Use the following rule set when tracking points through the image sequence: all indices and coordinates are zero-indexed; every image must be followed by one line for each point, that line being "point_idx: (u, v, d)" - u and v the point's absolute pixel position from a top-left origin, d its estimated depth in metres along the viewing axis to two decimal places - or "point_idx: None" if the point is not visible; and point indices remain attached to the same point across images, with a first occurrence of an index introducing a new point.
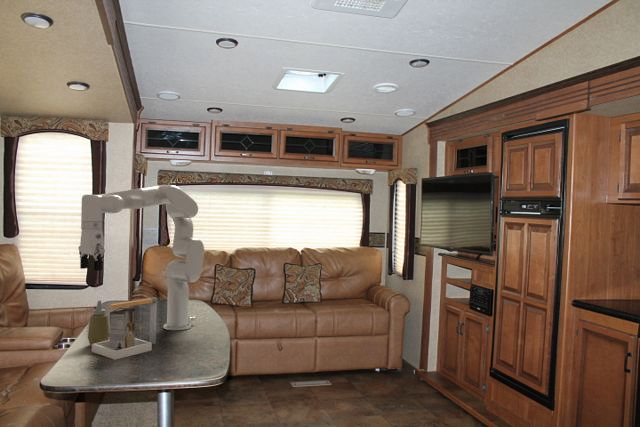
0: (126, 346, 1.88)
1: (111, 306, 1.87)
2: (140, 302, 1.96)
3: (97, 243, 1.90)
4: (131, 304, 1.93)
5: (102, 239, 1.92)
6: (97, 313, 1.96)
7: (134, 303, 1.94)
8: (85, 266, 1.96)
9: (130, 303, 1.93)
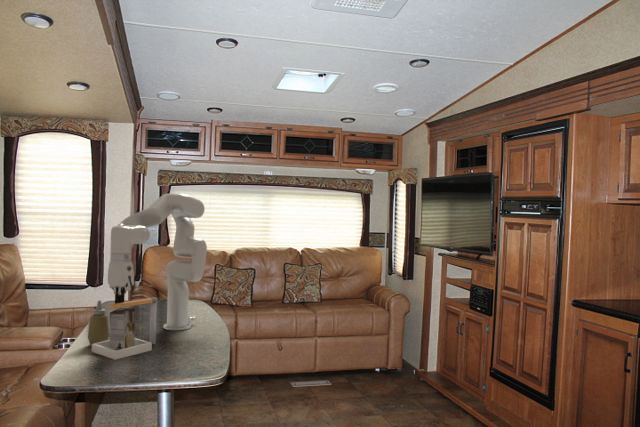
0: (126, 346, 1.88)
1: (111, 306, 1.87)
2: (140, 302, 1.96)
3: (127, 278, 1.90)
4: (131, 304, 1.93)
5: (132, 271, 1.92)
6: (97, 313, 1.96)
7: (134, 303, 1.94)
8: None
9: (130, 303, 1.93)
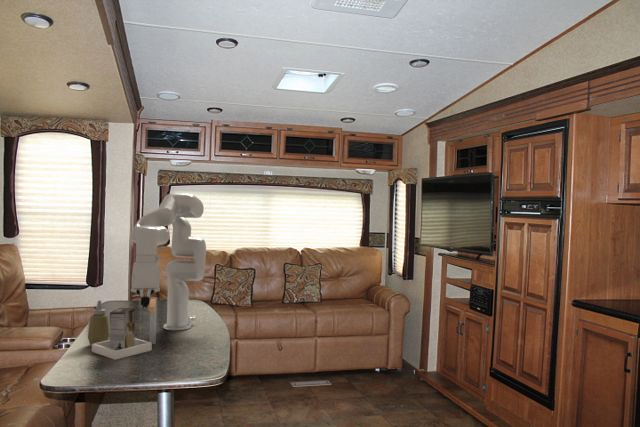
0: (126, 346, 1.88)
1: (151, 308, 1.84)
2: (155, 302, 1.96)
3: None
4: None
5: None
6: (97, 313, 1.96)
7: None
8: None
9: (154, 304, 1.92)
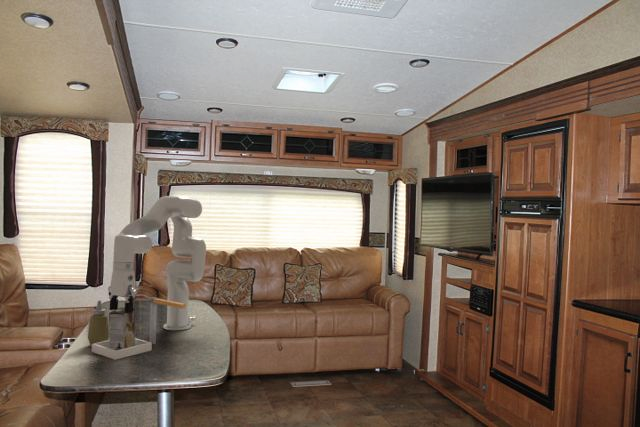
0: (126, 346, 1.88)
1: (184, 305, 1.92)
2: None
3: (129, 285, 1.87)
4: None
5: (134, 280, 1.89)
6: (97, 313, 1.96)
7: None
8: (114, 307, 1.92)
9: None
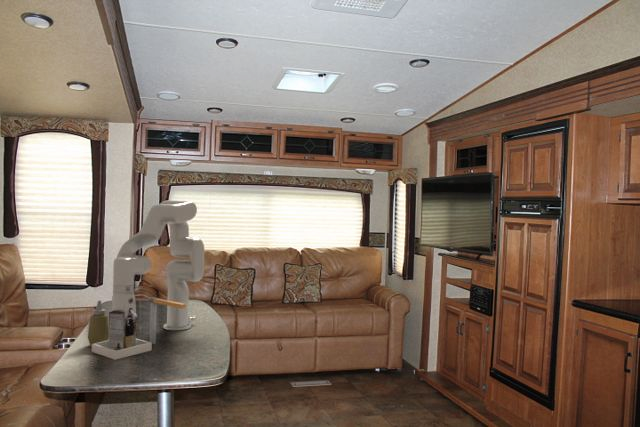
0: (125, 346, 1.88)
1: (184, 305, 1.92)
2: None
3: (129, 308, 1.88)
4: None
5: (134, 303, 1.90)
6: (97, 313, 1.96)
7: None
8: None
9: None
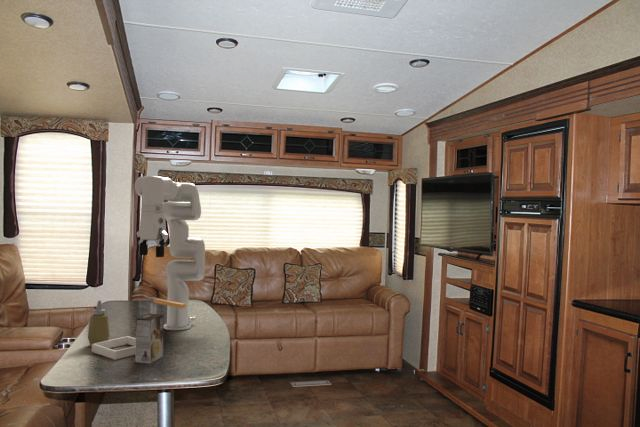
0: (153, 354, 1.78)
1: (184, 305, 1.92)
2: None
3: (159, 228, 1.78)
4: None
5: (164, 223, 1.80)
6: (97, 313, 1.96)
7: None
8: (144, 253, 1.84)
9: None
